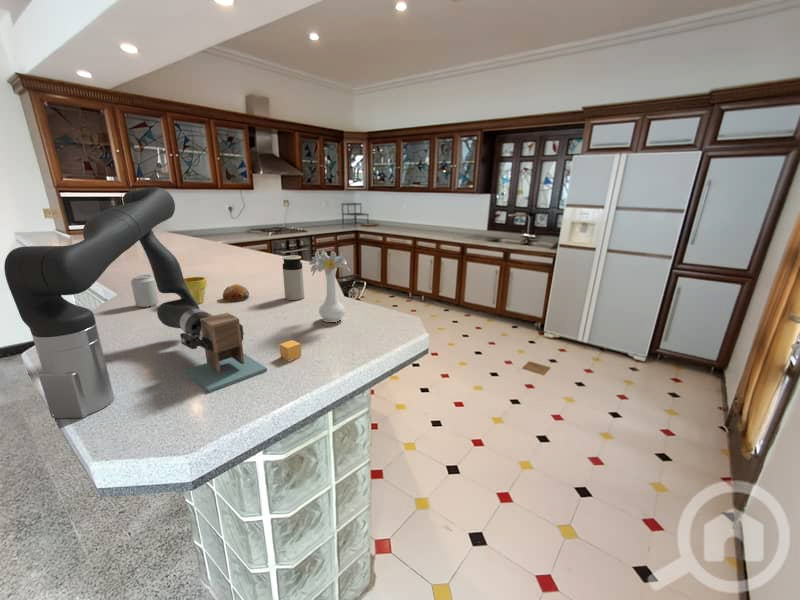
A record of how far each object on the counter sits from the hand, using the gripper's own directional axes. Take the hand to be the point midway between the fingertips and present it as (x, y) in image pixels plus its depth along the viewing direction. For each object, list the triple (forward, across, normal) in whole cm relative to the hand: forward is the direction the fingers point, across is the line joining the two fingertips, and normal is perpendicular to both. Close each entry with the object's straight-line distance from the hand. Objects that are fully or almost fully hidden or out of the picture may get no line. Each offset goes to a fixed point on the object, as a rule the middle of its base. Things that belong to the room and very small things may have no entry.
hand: (226, 342), depth 84 cm
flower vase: (-14, +42, +9) cm, 45 cm away
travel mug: (-48, +48, +9) cm, 68 cm away
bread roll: (-64, +31, +9) cm, 72 cm away
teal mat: (-2, 0, +9) cm, 9 cm away
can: (-79, +2, +9) cm, 80 cm away
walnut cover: (-2, 0, +6) cm, 7 cm away
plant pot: (-71, +16, +9) cm, 73 cm away
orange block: (+2, +16, +9) cm, 18 cm away
